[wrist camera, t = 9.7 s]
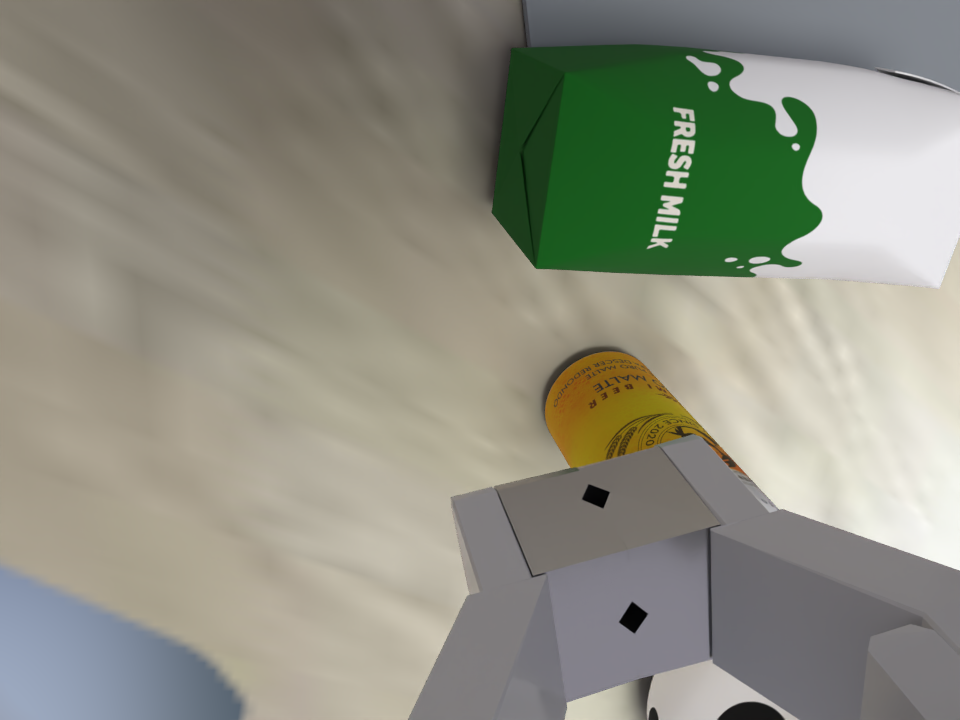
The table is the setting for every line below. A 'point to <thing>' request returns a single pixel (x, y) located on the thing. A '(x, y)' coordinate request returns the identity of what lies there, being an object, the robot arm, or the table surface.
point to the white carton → (727, 165)
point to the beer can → (621, 414)
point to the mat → (767, 29)
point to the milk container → (707, 696)
